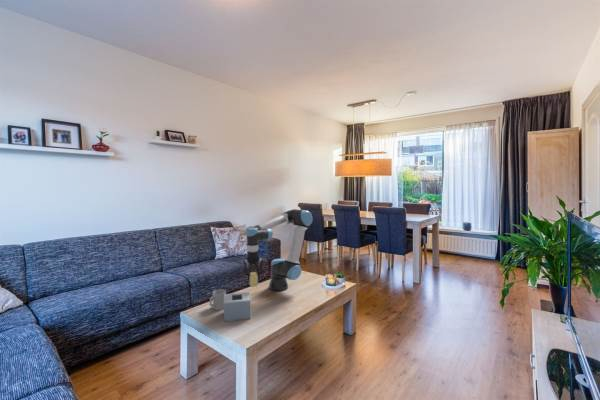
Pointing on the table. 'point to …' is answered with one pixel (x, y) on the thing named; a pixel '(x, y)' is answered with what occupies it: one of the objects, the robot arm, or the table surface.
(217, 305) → the mug
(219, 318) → the table surface
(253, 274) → the gold rectangular block
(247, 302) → the grey box with hole
